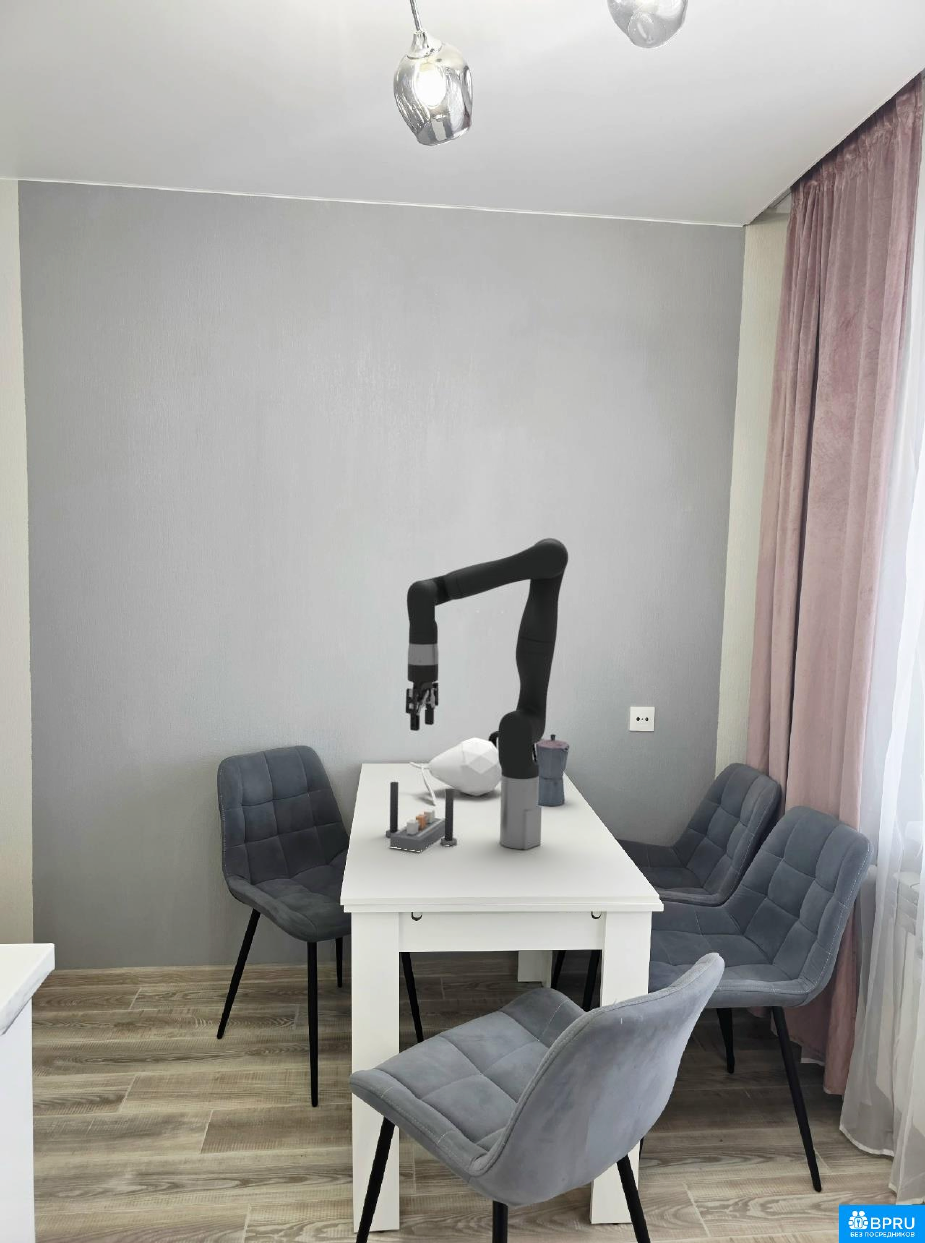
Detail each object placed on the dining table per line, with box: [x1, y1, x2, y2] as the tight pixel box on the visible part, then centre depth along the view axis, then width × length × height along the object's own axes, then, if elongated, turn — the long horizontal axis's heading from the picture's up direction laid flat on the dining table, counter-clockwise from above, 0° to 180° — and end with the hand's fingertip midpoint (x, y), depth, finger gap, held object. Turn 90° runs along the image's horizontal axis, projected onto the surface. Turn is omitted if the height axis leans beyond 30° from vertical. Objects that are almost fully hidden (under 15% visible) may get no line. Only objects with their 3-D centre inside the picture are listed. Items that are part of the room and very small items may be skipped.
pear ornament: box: [409, 737, 501, 806], centre depth 264 cm, size 16×22×28 cm
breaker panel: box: [389, 817, 445, 853], centre depth 224 cm, size 18×8×4 cm, turn 158°
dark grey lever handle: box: [385, 781, 400, 838], centre depth 227 cm, size 4×4×14 cm
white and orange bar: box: [406, 808, 436, 835], centre depth 224 cm, size 13×2×3 cm, turn 158°
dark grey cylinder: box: [440, 788, 458, 847], centre depth 221 cm, size 4×4×14 cm
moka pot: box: [532, 733, 570, 807], centre depth 259 cm, size 10×15×20 cm, turn 41°
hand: (422, 727), depth 222 cm, fingers open, 8 cm apart
